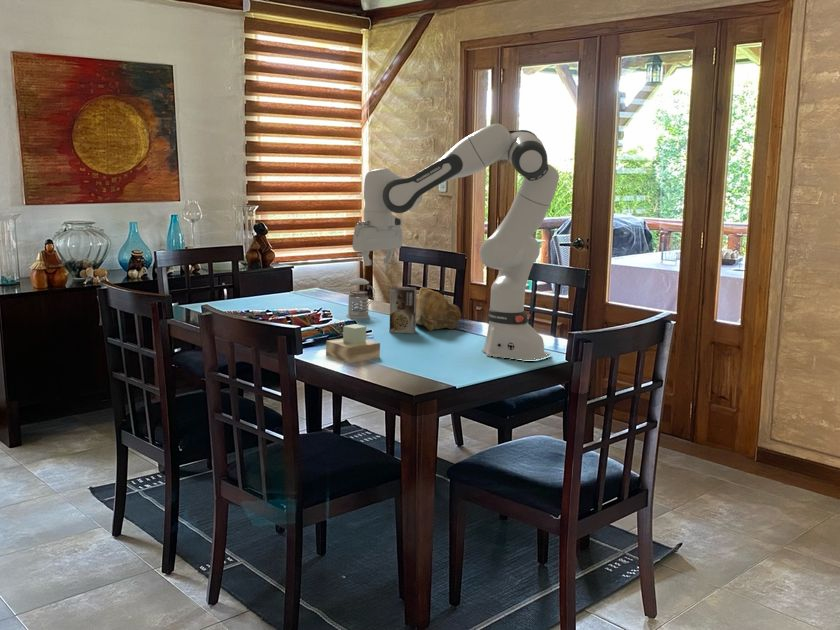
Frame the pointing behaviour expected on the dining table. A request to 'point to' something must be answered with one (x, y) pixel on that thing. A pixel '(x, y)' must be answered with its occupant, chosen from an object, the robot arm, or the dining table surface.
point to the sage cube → (354, 334)
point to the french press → (359, 299)
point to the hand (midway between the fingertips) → (377, 264)
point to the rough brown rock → (435, 310)
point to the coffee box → (402, 309)
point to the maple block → (352, 350)
